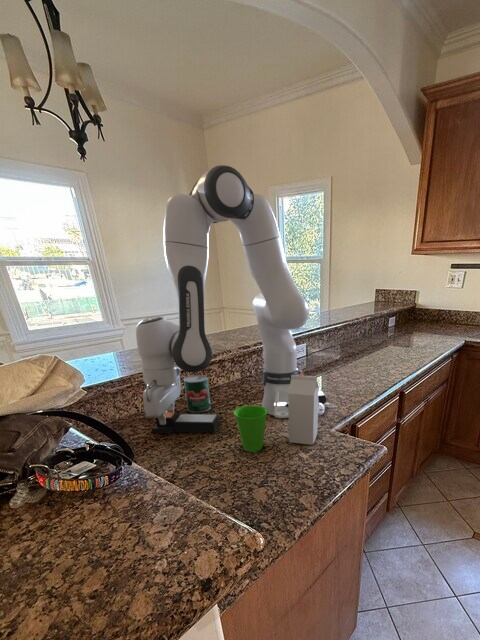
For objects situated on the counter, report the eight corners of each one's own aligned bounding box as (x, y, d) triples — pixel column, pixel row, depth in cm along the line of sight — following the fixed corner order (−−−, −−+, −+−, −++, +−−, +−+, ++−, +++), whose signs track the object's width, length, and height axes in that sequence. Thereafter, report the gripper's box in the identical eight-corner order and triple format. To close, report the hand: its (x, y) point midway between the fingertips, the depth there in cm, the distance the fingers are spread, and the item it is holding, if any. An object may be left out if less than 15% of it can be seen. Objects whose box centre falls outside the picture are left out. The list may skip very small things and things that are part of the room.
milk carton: (313, 445, 100) (314, 380, 92) (288, 442, 101) (287, 378, 93) (317, 434, 106) (319, 373, 98) (294, 432, 107) (294, 371, 99)
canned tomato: (194, 414, 119) (189, 383, 114) (183, 408, 124) (179, 377, 119) (215, 409, 124) (211, 378, 119) (204, 402, 129) (200, 373, 124)
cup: (276, 448, 98) (274, 411, 93) (249, 459, 92) (246, 421, 87) (256, 437, 104) (254, 402, 99) (230, 447, 98) (226, 410, 93)
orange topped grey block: (178, 421, 111) (177, 411, 110) (173, 427, 107) (171, 417, 105) (163, 421, 111) (161, 411, 110) (156, 427, 106) (155, 417, 105)
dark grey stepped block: (219, 422, 113) (218, 413, 112) (213, 433, 106) (212, 423, 104) (162, 422, 113) (160, 412, 111) (152, 432, 106) (150, 422, 104)
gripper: (157, 387, 93) (165, 434, 99) (181, 366, 111) (187, 407, 117) (133, 387, 93) (143, 434, 99) (161, 366, 111) (168, 407, 117)
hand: (167, 419), depth 108 cm, fingers closed on orange topped grey block, 5 cm apart
